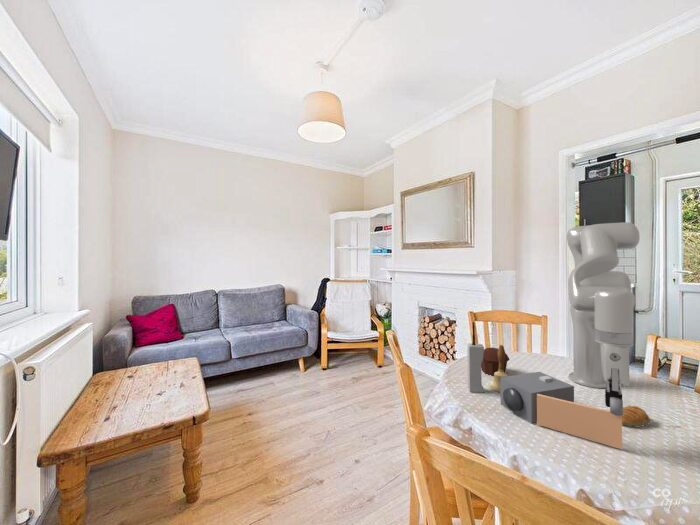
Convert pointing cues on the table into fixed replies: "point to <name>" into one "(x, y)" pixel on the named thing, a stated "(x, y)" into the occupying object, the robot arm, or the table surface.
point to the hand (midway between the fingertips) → (613, 406)
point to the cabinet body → (531, 393)
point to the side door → (582, 419)
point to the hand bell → (499, 371)
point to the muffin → (492, 361)
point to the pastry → (634, 416)
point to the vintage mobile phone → (475, 365)
